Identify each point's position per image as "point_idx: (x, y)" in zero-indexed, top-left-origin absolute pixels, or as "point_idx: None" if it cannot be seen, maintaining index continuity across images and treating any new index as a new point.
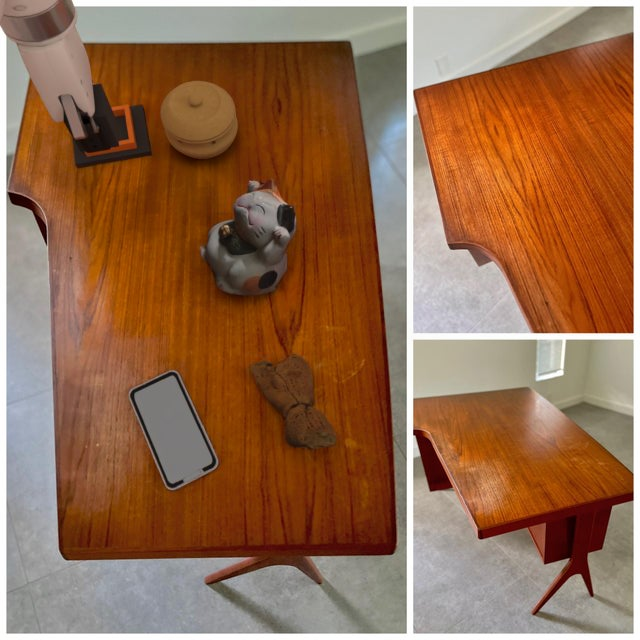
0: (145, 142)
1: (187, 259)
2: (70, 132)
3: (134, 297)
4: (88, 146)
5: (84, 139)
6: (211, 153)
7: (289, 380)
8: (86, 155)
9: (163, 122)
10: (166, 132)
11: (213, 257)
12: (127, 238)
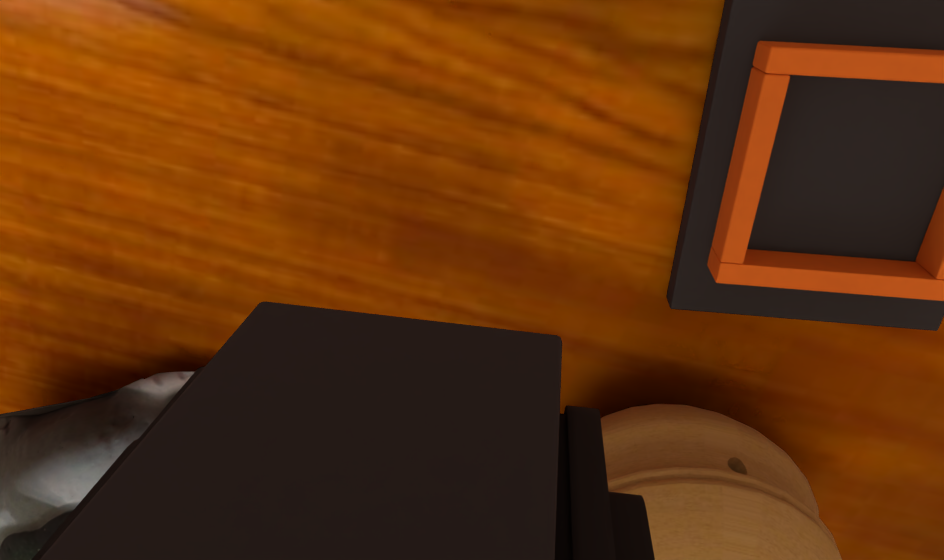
0: (722, 301)
1: (189, 308)
2: (114, 477)
3: (44, 108)
4: (102, 480)
5: (41, 552)
6: None
7: None
8: (768, 37)
9: (672, 489)
10: (675, 432)
11: (33, 467)
12: (298, 130)
